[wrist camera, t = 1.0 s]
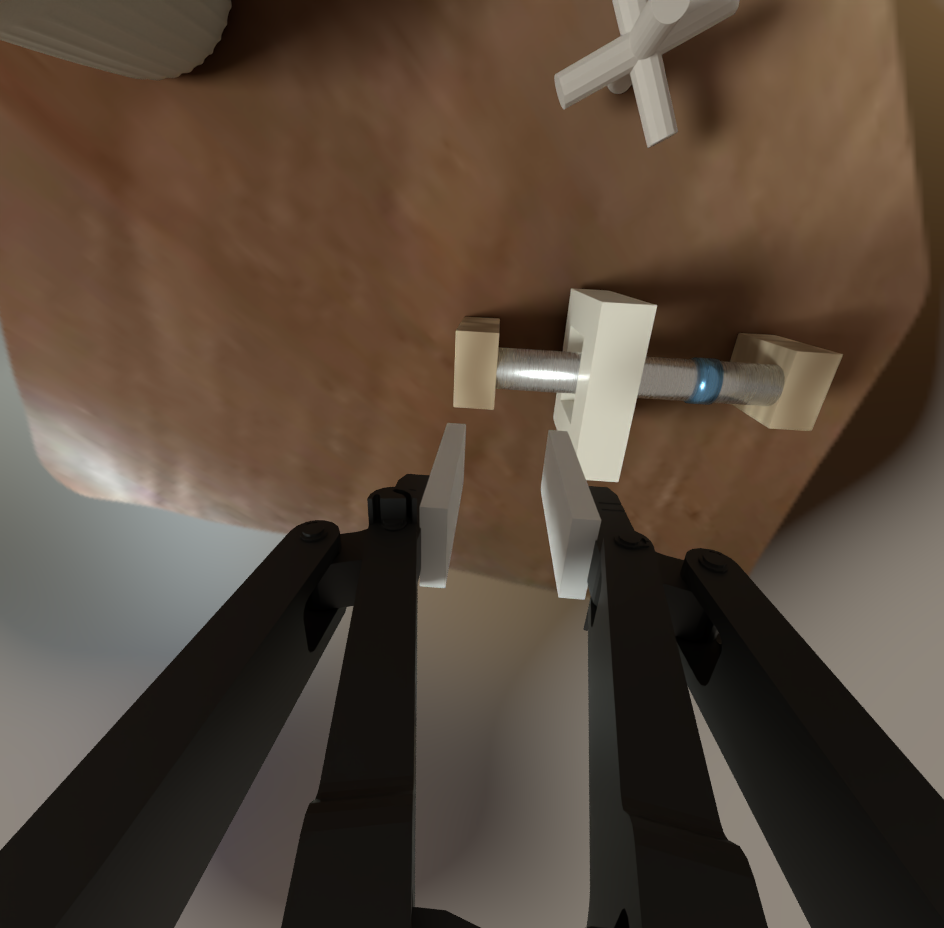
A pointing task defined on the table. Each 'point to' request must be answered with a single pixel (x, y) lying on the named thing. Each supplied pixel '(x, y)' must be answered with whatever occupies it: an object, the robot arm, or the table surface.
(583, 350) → the collar
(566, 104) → the pipe connector
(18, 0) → the canister
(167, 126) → the table surface
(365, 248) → the table surface
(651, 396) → the steel rod
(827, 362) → the rod support stand
